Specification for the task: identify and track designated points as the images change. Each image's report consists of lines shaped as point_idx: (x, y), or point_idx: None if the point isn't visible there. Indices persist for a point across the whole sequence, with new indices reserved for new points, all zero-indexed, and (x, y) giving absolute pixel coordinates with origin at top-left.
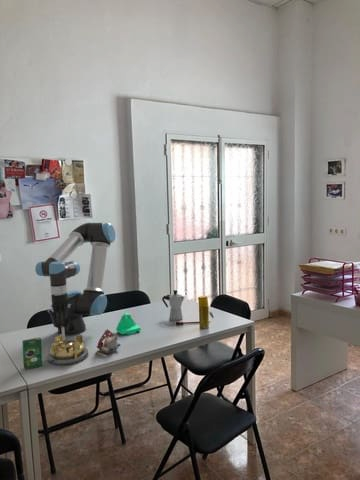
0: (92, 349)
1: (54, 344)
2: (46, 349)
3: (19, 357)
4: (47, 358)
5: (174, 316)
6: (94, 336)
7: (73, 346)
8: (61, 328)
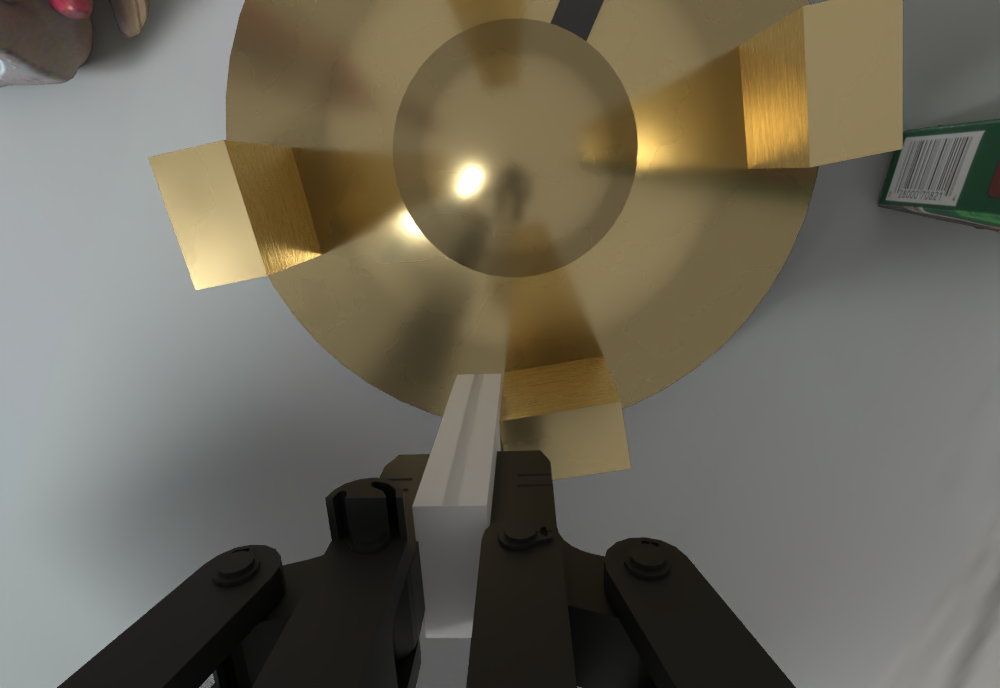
0: None
1: (870, 59)
2: None
3: (921, 568)
4: None
5: None
6: (26, 530)
7: None
8: (489, 520)
